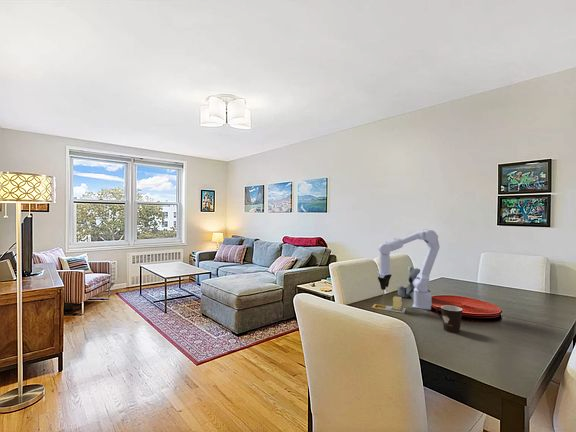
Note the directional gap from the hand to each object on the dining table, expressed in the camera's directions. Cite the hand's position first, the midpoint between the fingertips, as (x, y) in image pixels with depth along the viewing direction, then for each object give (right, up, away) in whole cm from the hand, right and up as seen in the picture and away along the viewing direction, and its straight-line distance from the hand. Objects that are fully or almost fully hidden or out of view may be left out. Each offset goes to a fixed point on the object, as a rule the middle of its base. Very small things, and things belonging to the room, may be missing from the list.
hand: (384, 288), depth 176 cm
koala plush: (+25, -10, +16) cm, 31 cm away
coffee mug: (+18, -10, -36) cm, 42 cm away
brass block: (+4, -10, -9) cm, 14 cm away
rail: (0, -10, -7) cm, 12 cm away
